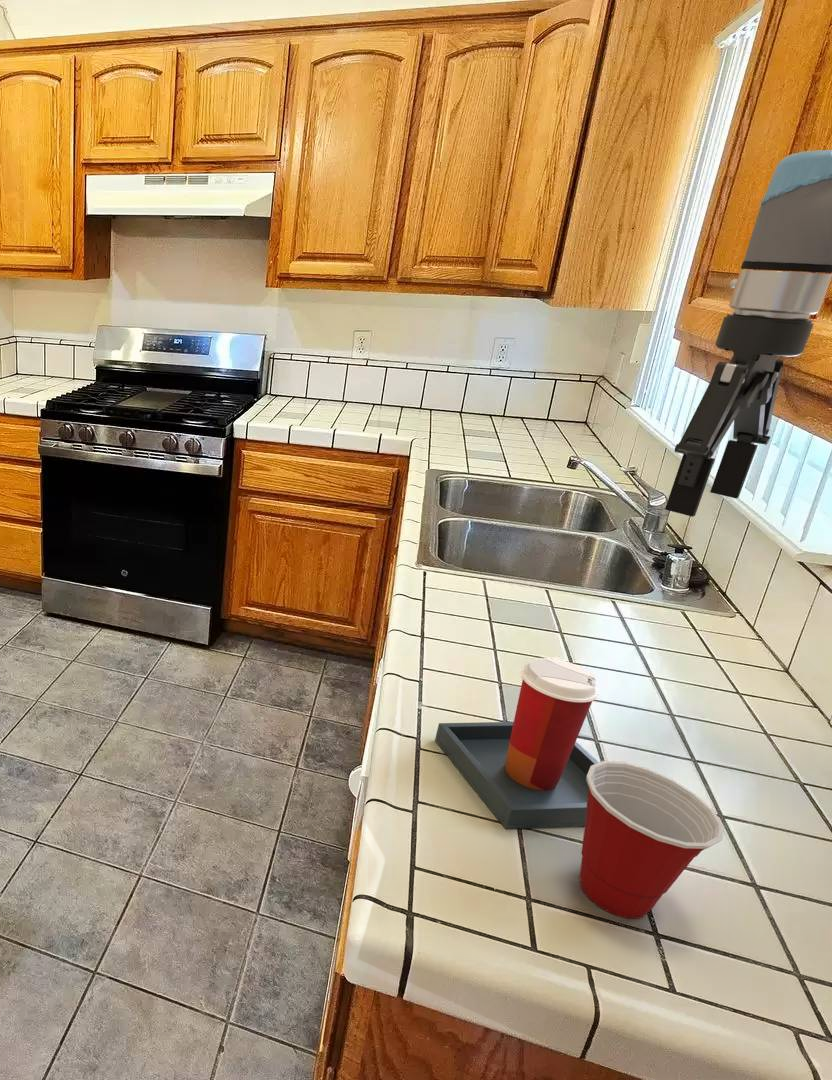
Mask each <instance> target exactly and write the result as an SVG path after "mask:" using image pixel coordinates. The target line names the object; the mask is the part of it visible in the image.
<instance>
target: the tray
mask: <svg viewBox="0 0 832 1080" xmlns="http://www.w3.org/2000/svg"><path fill="white" fill-rule="evenodd" d="M513 723H514V721H491V722H490V721H489V722H488V721H487V722H486V721H485V722H483V721H481V722H439V723H438V726H437V730H436V734H435V738H434V741H435V742H436V744H437V745H438V746H439V747H440V749H441V750H442V752H444V754H445V755H446V756H447V757H448V759H449V760H450V761H451V762H452V764H453V765H454V766H455V767H456V769H457V770H458V771H459V773H461V775H462V776H463V778H464V779H465V780H466V781H467V783H468V784H469V785H470V786H471V787H472V789H473V790H474V791H475V793H476V794H477V795H478V797H479V798H480V799H481V800H482V801H483V802H484V804H485V805H486V806H487V808H488V809H489V810H490V811H491V813H492V814H493V815H494V816H495V818H496V819H497V820H498V822H499V823H500V824H501V825H502V826H503V828H504V829H505V830H515V829H517V830H518V829H519V830H521V829H542V828H543V829H547V828H548V829H549V828H576V827H577V828H578V827H585V823H586V815H587V802H588V791H589V789H588V787H589V786H588V783H587V781H586V779H587V774H588V772H589V769H590V767H591V766H592V765H594V764H597V763H600V761H598V760H597V759H596V758H595V757H594V756H593V755H592V754H591V753H589V752H588V750H587V749H585V748H584V747H583V746H582V745H581V744H580V743H578V741H576V742H575V745H574V747H573V749H572V752H571V754H570V757H569V759H568V761H567V764H566V766H565V768H564V771H563V773H562V775H561V777H560V780H559V782H558V784H557V786H556V787H555V788H554V789H552V790H547V791H541V790H535V789H531V788H528V787H526V786H523V785H521V784H519V783H518V782H516V781H515V780H513V779H512V778H511V777H510V776H509V775H508V774H507V772H506V770H505V764H506V758H507V752H508V747H509V742H510V737H511V733H512V728H513Z"/></svg>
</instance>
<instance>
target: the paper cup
mask: <svg viewBox="0 0 832 1080" xmlns="http://www.w3.org/2000/svg"><path fill="white" fill-rule="evenodd" d="M519 676H520V678H521V679H522V681H521V686H520V690H519V693H518V694H519V695H518V700H517V704H516V709H515V713H514V714H515V715H514V718H513V722H514V723H513V728H512V733H511V737H510V742H509V747H508V752H507V758H506V764H505V770H506V772H507V774H508V775H509V776H510V777H511V778H512V779H513V780H515V781H516V782H518V783H519V784H521V785H523V786H526V787H528V788H531V789H535V790H541V791H547V790H552V789H554V788H555V787H556V786H557V784H558V782H559V780H560V777H561V775H562V773H563V771H564V768H565V766H566V764H567V761H568V759H569V757H570V754H571V752H572V749H573V747H574V745H575V742H577V740H578V737H579V735H580V732H581V730H582V727H583V725H584V723H585V720H586V718H587V715H588V713H589V710H590V709H591V706H592V704H593V701H595V700H597V699H598V698H599V695H600V694H599V689H598V687H597V683H596V677H595V676H594V675H593V674H592V673H591V672H590V671H588V670H587V669H585V668H584V667H582V666H579V665H577V664H575V663H572V662H570V661H567V660H563V659H558V658H553V657H539V658H534V659H531V660H530V662H527V663H525V664H524V667H522V668H521V669H519Z"/></svg>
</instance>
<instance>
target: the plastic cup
mask: <svg viewBox="0 0 832 1080" xmlns="http://www.w3.org/2000/svg"><path fill="white" fill-rule="evenodd" d="M586 781H587V783H588V786H589V787H588V789H589V791H588V802H587V815H586V823H585V826H584V830H583V838H582V846H581V863H580V864H581V865H580V870H579V879H580V881H579V882H580V886H581V889H582V891H583V892H584V894H585V895H586V896H587V897H588V899H589V900H590V901H591V902H592V903H594V904H595V905H597V906H598V907H599V908H601V910H604V911H607V912H609V913H610V914H612V915H614V916H618V917H622V918H625V919H640V918H643V917H644V916H646V915H647V914H648V913H649V912H651V911H652V909H653V908H654V907H655V906H656V904H657V903H658V901H659V900H660V899H661V897H662V896H663V895H664V894H666V893H667V892H668V891H669V889H670V888H671V887H672V886H673V884H674V883H675V882H676V881H677V880H678V878H679V877H680V876H681V875H682V873H683V872H684V871H685V869H686V868H687V867H688V866H689V865H690V863H691V862H692V861H693V860H694V859H695V858H696V857H697V856H699V855H700V853H702V851H705V850H707V849H709V848H712V846H714V845H717V844H718V843H720V842H722V841H723V839H724V830H725V826H724V825H723V823H722V822H721V820H720V818H719V816H718V815H717V813H716V811H715V810H714V809H713V808H712V807H711V806H710V805H708V804H707V803H706V802H705V801H704V800H703V799H702V798H701V797H700V796H699V795H697V793H695V792H693V791H692V790H690V789H688V788H687V787H685V786H684V785H682V784H680V783H679V782H677V781H676V780H674V779H673V778H671V777H668V776H666V775H663V774H661V773H659V772H657V771H655V770H652V769H650V768H648V767H644V766H640V765H638V764H633V763H629V762H626V761H615V760H614V761H613V760H601V761H599V763H597V764H594V765H592V766H591V767H590V769H589V772H588V774H587V779H586Z"/></svg>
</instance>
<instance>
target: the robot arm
mask: <svg viewBox="0 0 832 1080" xmlns="http://www.w3.org/2000/svg"><path fill="white" fill-rule="evenodd" d="M831 280H832V149H821V150H807V151H799V152H795V153H792V154H789V155H787V156H786V157H783V159H781V160H780V161H779V162H778V163H777V164H776V167H775V169H774V172H773V174H772V176H771V179H770V181H769V184H768V186H767V189H766V191H765V194H764V196H763V199H762V200H761V201H760V204H759V210H758V212H757V216H756V220H755V223H754V226H753V229H752V232H751V236H750V238H749V241H748V244H747V249H746V251H745V255H744V258H743V261H742V263H741V267H740V270H739V272H738V276H737V278H733V279H732V280H731V281H730V282H729V287H730V288H731V289H734V290H733V291H732V293H731V297H730V299H729V302H728V307H729V308H730V309H732V310H733V312H732V313H728V314H726V316H723V319H722V322H721V326H720V328H719V331H718V334H717V337H716V339H715V347H716V348H717V349H720V350H723V351H729V352H732V353H733V354H732V357H731V358H730V361H729V362H726V361H718V362H717V364H716V365H715V367H714V371H713V373H712V377H711V379H710V381H709V383H708V386H707V388H706V390H705V391H704V393H703V396H702V397H701V399H700V401H699V403H698V405H697V406H696V407H697V408H696V409H695V411H694V413H693V415H692V417H691V419H690V421H689V423H688V425H687V427H686V430H685V431H684V433H683V435H682V437H681V439H680V441H679V442H678V443H676V445H675V447H674V453H677V454H682V457H681V460H680V463H679V466H678V469H677V472H676V474H675V478H674V481H673V484H672V487H671V490H670V493H669V495H668V499H667V501H666V505H665V508H664V510H665V511H668V512H673V513H677V514H680V515H684V516H687V517H692V518H693V517H696V514H697V511H698V509H699V506H700V503H701V500H702V497H703V494H704V492H705V490H706V486H707V484H708V481H709V477H710V475H711V472H712V469H713V466H714V463H715V462H716V461H715V460H716V459H715V458H713V456H714V454H715V452H716V451H717V449H718V447H719V446H720V444H721V443H722V440H723V439H724V438H725V436H726V434H727V433H728V431H729V429H730V428H731V426H732V424H733V435H732V439H733V440H732V439H729V440H728V441H727V443H726V446H725V449H724V452H723V455H722V457H721V460H720V463H719V465H718V467H717V471H716V474H715V477H714V480H713V483H712V486H711V488H710V491H709V493H710V494H715V495H720V496H724V497H728V498H732V499H736V500H737V499H739V498H740V495H741V493H742V489H743V487H744V484H745V483H746V478H747V476H748V473H749V471H750V468H751V466H752V462H753V459H754V457H755V454H756V452H757V449H758V446H759V445H762V446H767V445H768V444H769V442H770V440H771V436H770V435H769V433H770V431H771V430H770V429H771V424H772V419H773V414H774V409H775V405H776V400H777V395H778V390H779V386H780V382H781V377H782V375H781V371H782V368H783V361H782V360H781V359H782V358H777V357H798V356H800V355H801V354H803V353H804V351H805V349H806V346H807V343H808V341H809V338H810V335H811V333H812V331H813V327H814V323H813V320H811V319H810V318H811V317H810V316H811V315H816V314H818V313H819V312H821V311H820V310H821V308H822V305H823V302H824V299H825V297H826V294H827V291H828V289H829V285H830V283H831Z"/></svg>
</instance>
